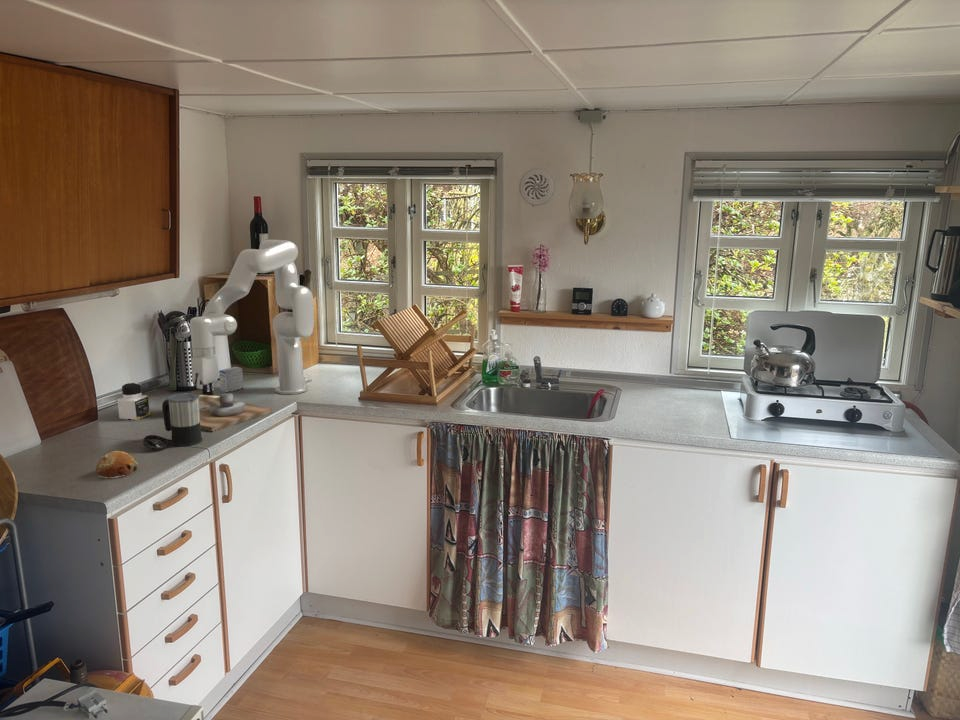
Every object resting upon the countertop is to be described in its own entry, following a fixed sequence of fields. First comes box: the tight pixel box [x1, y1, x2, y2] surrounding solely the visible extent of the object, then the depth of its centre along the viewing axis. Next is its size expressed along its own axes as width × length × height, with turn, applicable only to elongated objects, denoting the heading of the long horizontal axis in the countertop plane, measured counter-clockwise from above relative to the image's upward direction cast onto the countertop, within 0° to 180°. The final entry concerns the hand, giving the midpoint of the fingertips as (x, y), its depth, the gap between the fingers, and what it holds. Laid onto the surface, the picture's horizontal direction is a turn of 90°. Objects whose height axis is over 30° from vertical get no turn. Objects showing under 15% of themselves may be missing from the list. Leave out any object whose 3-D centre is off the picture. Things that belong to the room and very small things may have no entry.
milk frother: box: [142, 392, 203, 451], centre depth 225 cm, size 14×16×15 cm
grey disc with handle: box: [190, 391, 245, 416], centre depth 256 cm, size 20×12×6 cm, turn 74°
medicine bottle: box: [116, 382, 151, 421], centre depth 255 cm, size 7×7×12 cm
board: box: [199, 402, 272, 432], centre depth 255 cm, size 26×22×2 cm
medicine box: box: [219, 366, 244, 393], centre depth 291 cm, size 8×4×9 cm, turn 144°
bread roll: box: [95, 450, 139, 477], centre depth 203 cm, size 10×10×8 cm
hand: (208, 401), depth 261 cm, fingers closed
